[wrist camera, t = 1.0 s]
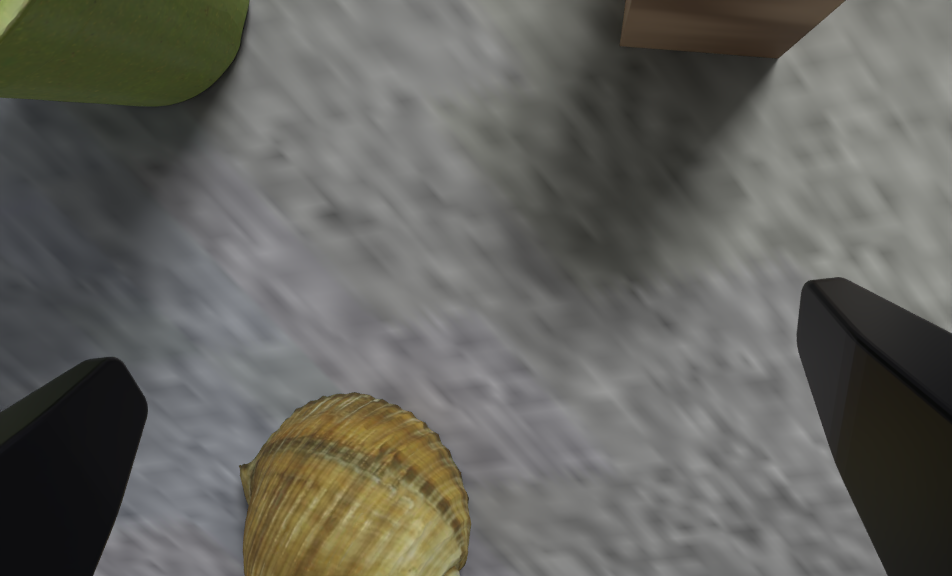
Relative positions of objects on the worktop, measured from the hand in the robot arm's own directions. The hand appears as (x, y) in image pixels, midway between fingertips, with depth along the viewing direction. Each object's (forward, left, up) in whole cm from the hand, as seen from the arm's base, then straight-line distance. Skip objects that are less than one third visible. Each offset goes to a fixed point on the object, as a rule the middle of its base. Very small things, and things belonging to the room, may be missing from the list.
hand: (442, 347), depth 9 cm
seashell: (-3, +10, -15) cm, 18 cm away
